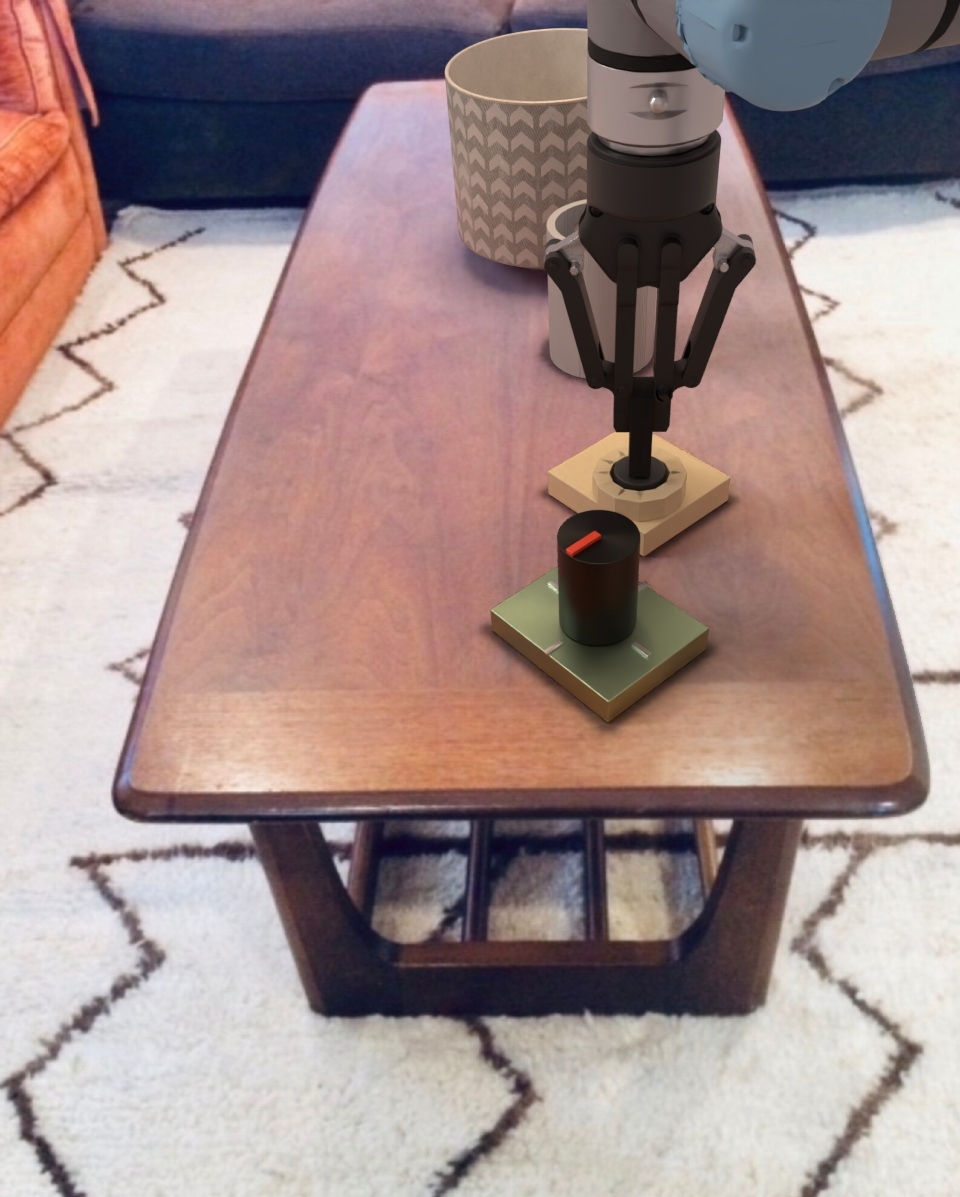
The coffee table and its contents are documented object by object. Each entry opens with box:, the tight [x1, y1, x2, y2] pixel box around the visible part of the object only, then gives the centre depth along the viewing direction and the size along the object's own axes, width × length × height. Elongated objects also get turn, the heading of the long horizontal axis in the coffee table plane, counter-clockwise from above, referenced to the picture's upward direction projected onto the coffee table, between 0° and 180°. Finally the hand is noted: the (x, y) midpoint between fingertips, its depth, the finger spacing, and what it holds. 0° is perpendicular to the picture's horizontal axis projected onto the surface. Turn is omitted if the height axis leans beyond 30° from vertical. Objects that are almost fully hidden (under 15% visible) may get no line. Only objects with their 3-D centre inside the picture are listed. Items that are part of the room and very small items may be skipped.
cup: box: [546, 199, 657, 380], centre depth 93 cm, size 9×9×12 cm
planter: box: [444, 27, 592, 271], centre depth 105 cm, size 19×19×18 cm
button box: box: [547, 431, 731, 557], centre depth 81 cm, size 10×9×4 cm
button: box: [614, 456, 665, 491], centre depth 79 cm, size 4×4×2 cm
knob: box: [556, 510, 641, 646], centre depth 68 cm, size 5×5×7 cm
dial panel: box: [490, 565, 710, 723], centre depth 72 cm, size 11×9×2 cm
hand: (639, 464), depth 78 cm, fingers closed
